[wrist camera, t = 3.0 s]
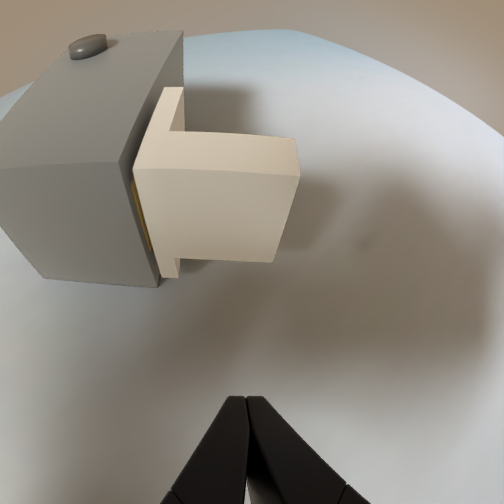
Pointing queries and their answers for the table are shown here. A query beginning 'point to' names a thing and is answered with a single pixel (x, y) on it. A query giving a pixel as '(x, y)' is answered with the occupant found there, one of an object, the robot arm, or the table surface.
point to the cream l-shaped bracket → (212, 190)
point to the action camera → (86, 158)
